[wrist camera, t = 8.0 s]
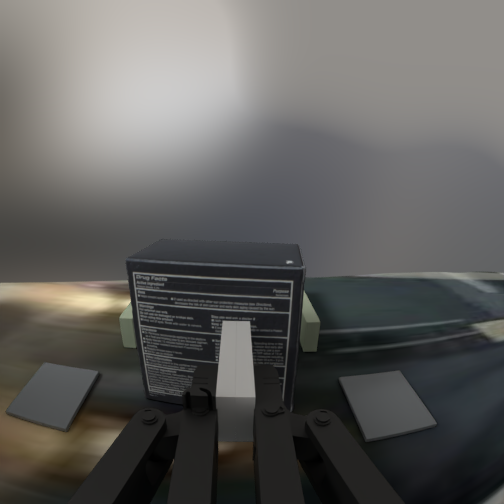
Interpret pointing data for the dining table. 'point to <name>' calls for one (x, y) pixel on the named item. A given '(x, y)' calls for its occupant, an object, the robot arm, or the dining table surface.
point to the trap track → (354, 387)
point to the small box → (214, 308)
